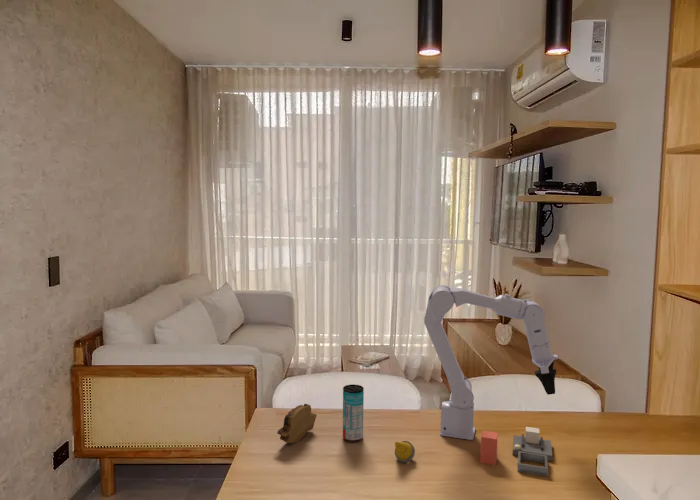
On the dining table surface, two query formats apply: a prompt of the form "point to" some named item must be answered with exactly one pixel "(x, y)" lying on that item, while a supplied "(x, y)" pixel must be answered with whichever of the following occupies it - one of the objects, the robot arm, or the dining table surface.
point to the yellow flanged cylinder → (404, 451)
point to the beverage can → (353, 412)
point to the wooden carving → (297, 423)
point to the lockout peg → (488, 447)
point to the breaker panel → (532, 447)
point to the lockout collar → (531, 468)
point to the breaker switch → (532, 435)
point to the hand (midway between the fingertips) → (550, 388)
